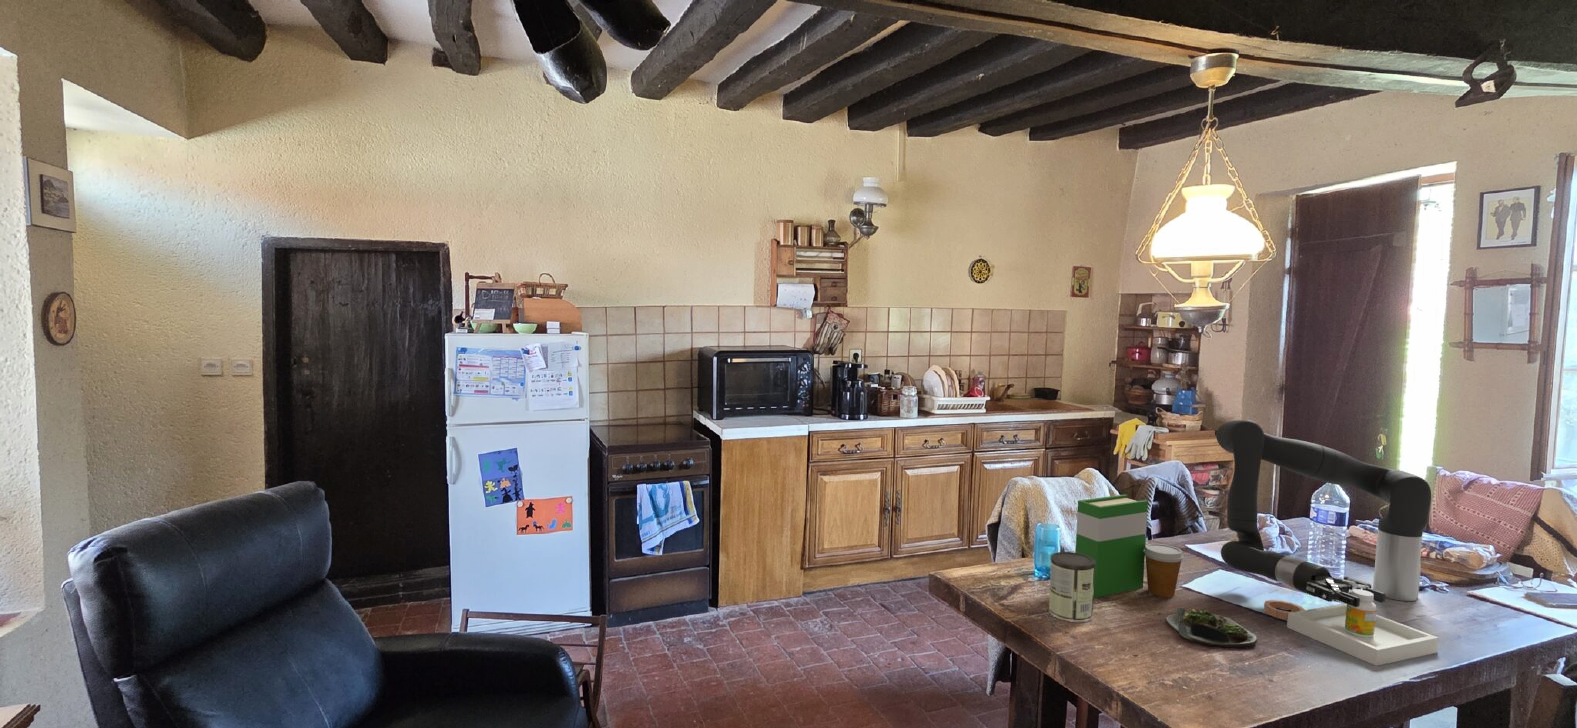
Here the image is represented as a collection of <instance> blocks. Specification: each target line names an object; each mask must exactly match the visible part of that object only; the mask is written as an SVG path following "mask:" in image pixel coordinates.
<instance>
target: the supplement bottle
mask: <svg viewBox="0 0 1577 728" xmlns="http://www.w3.org/2000/svg"><path fill="white" fill-rule="evenodd" d="M1361 589H1362V588H1361ZM1361 589H1353V590H1351V592H1352V595H1353V596H1356V597H1359V598H1360V606H1359V607H1354V606H1351V605H1349V604H1347V610H1346V620H1345V630H1346V631H1347V632H1348V633H1350V634H1353V635H1355V636H1359V637H1364V638H1370V637H1373V635H1374V628H1375V618H1376V614H1377V605H1376V604H1375V603H1374V602H1373V601H1374V600H1373V599H1374V594H1373V593H1371V592H1369V591H1365V590H1361Z"/></svg>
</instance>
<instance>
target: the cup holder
mask: <svg viewBox="0 0 1577 728" xmlns="http://www.w3.org/2000/svg"><path fill="white" fill-rule="evenodd" d="M1276 608H1280V609H1276ZM1284 609H1285V610H1284ZM1288 610H1291V611H1288ZM1303 610H1306V609H1304V608H1303V607H1302V606H1300V605H1298V604H1296V603H1293V602H1289V601H1285V600H1278V599H1270V600H1269V599H1268V600H1265V601H1264V603H1263V611H1264V612H1265V613H1266V614H1267V615H1269V616H1272V617H1273V618H1276V619H1279V620H1280V619H1281V620H1284V621H1287V620H1288V613H1292V611H1293V612H1297V611H1303Z"/></svg>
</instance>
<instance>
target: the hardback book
mask: <svg viewBox="0 0 1577 728" xmlns="http://www.w3.org/2000/svg"><path fill="white" fill-rule="evenodd" d="M1148 504H1149V500H1146V499H1143V500H1135V499H1131V498H1129V495H1128V494H1117V495H1110V496H1103V497H1095V498H1094V497H1093V498H1090V499H1089V498H1088V499H1079V500H1077V513H1076V534H1075V552H1074V553H1079V554H1084V555H1087V556H1089V557H1091V558H1093V559H1094V560H1095V569H1094V591H1093V598H1095V599H1096V597H1098V598H1101V597H1100V596H1102V597H1106V595H1107V596H1112V595H1115V593H1117V594H1120V593H1126V592H1129V591H1130V590H1131V591H1135V590H1140V589H1143V588H1144V578H1145V577H1144V574H1145V563H1146V557H1145V553H1144V549H1145V548H1146V545H1147V543H1146V542H1147V541H1146V540H1147V528H1148V525H1147V524H1148V523H1147V522H1148V508H1149V505H1148ZM1125 591H1126V592H1125ZM1111 594H1112V595H1111Z"/></svg>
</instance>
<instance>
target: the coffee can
mask: <svg viewBox="0 0 1577 728" xmlns="http://www.w3.org/2000/svg"><path fill="white" fill-rule="evenodd" d="M1094 569H1095V560H1094V559H1093V558H1091V557H1089V556H1087V555H1084V554H1079V553H1075V552H1073V551H1072V552H1071V551H1061V552H1060V551H1059V552H1054V553H1052V554H1050V576H1049V578H1050V579H1049V581H1050V582H1049V602H1048V603H1049V606H1048V613H1049V614H1050V615H1051V616H1052V617H1054V618H1055V617H1056V619H1059V620H1061V621H1064V620H1065V621H1064V622H1068V621H1069V622H1068V623H1076V624H1077V623H1087V622H1090V621H1091V620H1092V619H1093V617H1094V616H1093V613H1094V612H1093V611H1094V610H1093V609H1094V597H1093V591H1094Z"/></svg>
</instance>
